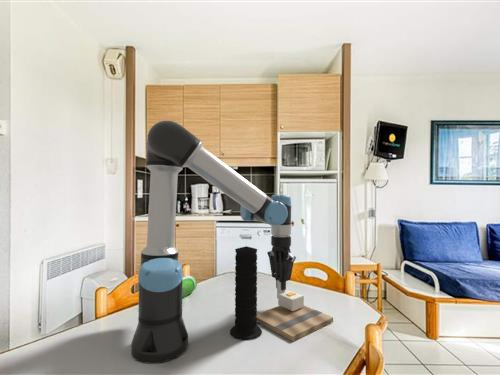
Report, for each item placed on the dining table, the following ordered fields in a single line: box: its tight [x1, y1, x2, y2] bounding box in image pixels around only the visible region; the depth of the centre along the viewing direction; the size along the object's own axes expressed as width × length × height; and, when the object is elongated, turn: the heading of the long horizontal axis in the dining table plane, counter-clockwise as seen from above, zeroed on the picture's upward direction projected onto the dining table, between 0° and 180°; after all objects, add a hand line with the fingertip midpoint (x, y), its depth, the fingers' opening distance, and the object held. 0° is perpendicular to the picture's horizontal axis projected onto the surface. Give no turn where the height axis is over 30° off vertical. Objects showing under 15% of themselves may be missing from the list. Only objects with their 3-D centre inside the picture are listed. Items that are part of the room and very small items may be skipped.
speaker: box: [182, 275, 198, 299], centre depth 114 cm, size 18×7×8 cm, turn 152°
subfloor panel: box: [256, 305, 334, 342], centre depth 94 cm, size 20×18×2 cm
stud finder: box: [277, 290, 305, 311], centre depth 102 cm, size 6×7×4 cm
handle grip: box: [229, 246, 263, 341], centre depth 87 cm, size 10×26×10 cm
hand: (280, 297), depth 106 cm, fingers closed
